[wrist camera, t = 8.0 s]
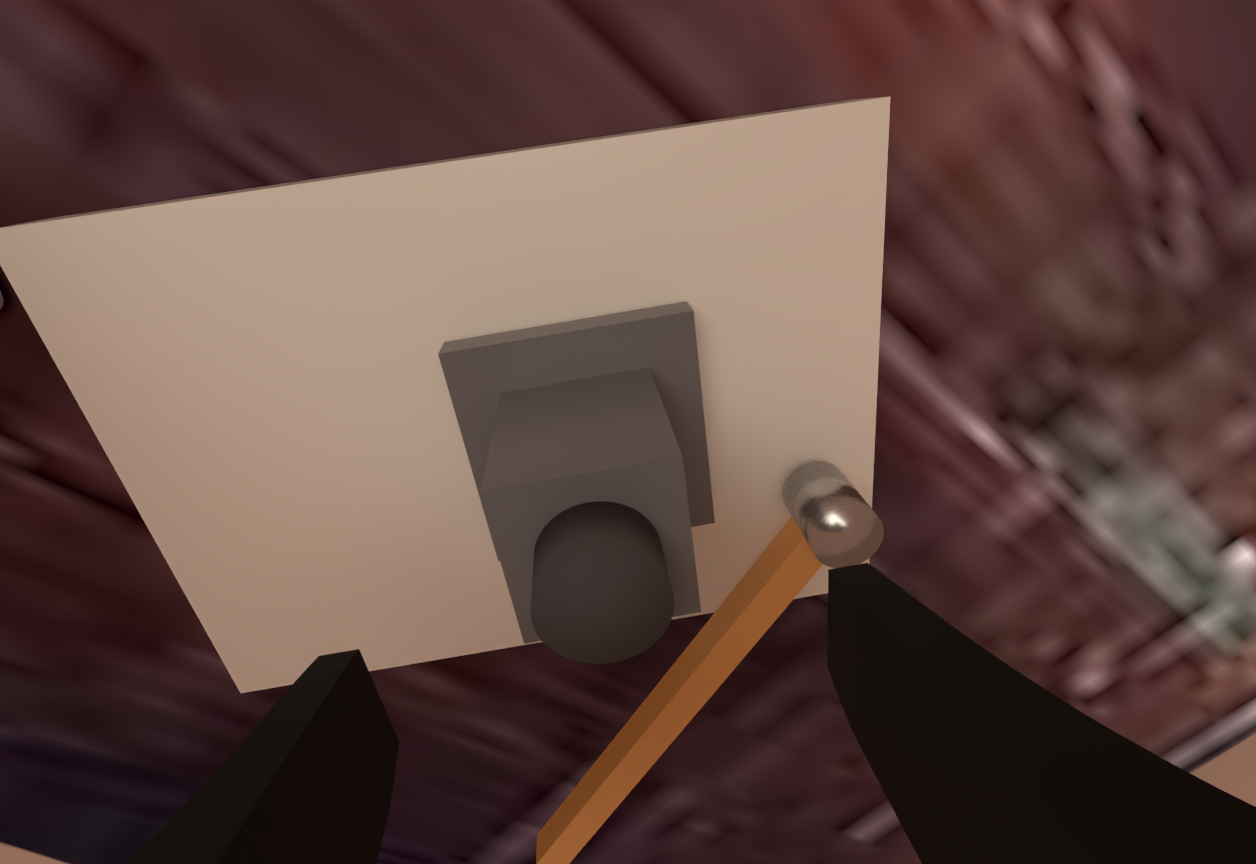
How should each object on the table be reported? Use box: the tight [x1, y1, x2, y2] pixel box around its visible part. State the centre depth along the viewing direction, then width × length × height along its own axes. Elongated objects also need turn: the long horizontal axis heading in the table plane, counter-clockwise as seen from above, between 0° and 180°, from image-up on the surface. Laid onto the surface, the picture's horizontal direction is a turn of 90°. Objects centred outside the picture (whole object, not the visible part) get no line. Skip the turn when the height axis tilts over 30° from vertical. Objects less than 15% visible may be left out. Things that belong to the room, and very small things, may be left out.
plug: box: [438, 301, 715, 664], centre depth 15 cm, size 6×6×10 cm
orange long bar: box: [536, 461, 884, 864], centre depth 19 cm, size 16×2×2 cm, turn 149°
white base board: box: [0, 97, 890, 693], centre depth 18 cm, size 20×14×2 cm
